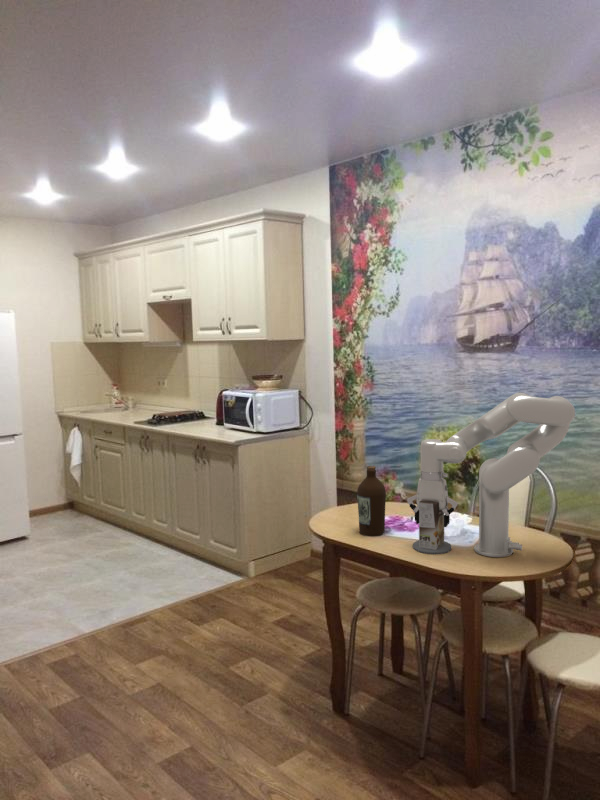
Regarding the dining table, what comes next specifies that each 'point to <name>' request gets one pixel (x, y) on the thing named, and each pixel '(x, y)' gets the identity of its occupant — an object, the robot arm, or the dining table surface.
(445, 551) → the mat
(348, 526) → the dining table surface
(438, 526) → the coffee box
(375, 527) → the olive oil
